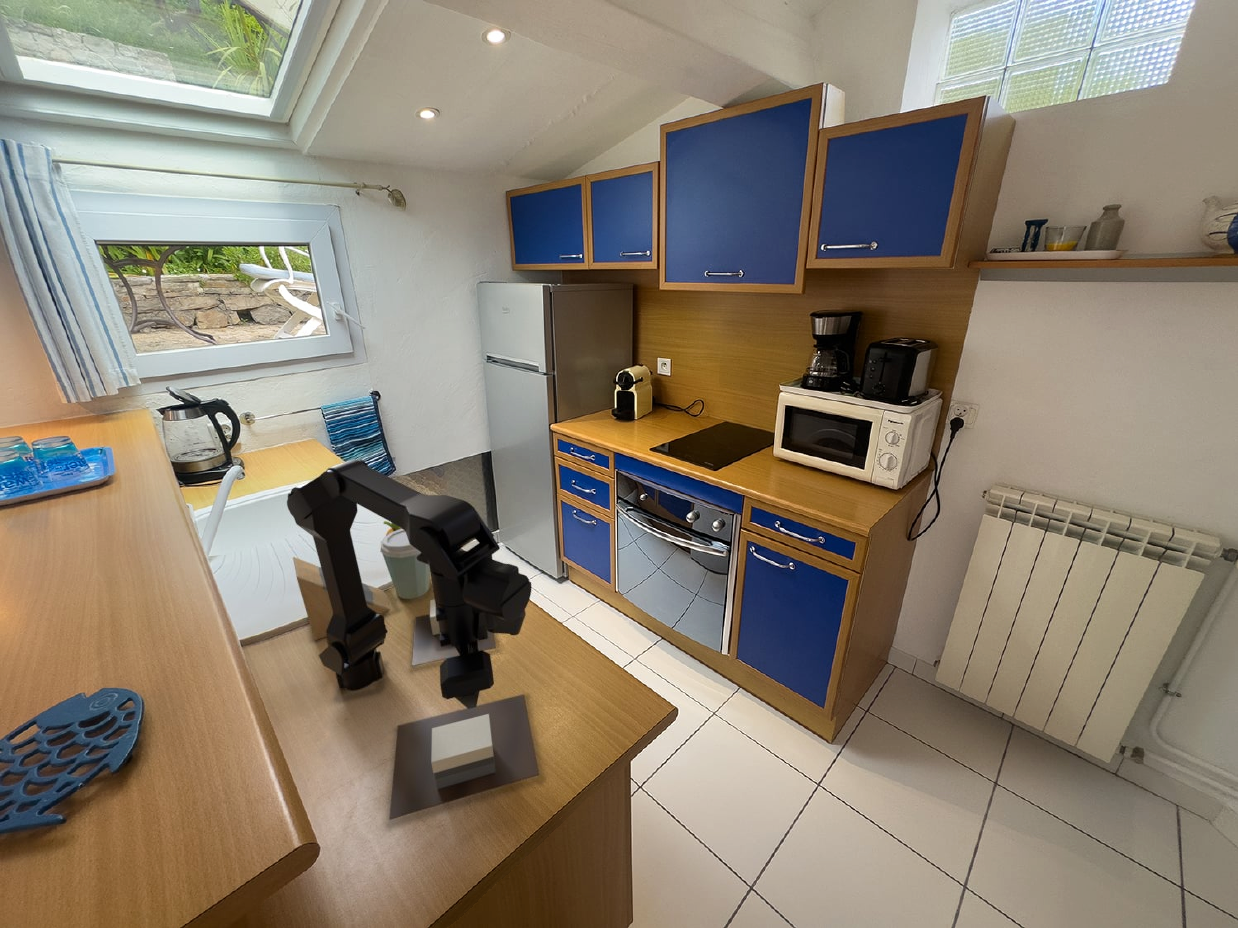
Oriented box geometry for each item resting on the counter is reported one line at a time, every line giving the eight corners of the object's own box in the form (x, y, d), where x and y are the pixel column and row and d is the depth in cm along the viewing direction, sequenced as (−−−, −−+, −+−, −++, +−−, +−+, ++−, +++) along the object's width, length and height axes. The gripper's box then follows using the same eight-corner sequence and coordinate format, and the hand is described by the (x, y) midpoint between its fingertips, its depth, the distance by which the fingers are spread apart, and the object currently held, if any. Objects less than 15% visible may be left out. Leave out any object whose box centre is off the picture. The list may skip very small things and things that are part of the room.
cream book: (433, 773, 67) (431, 762, 66) (433, 738, 72) (431, 727, 71) (493, 756, 69) (492, 745, 69) (490, 724, 74) (488, 713, 73)
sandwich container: (397, 611, 105) (385, 551, 99) (314, 641, 96) (296, 577, 91) (387, 591, 111) (375, 533, 105) (309, 617, 103) (292, 556, 97)
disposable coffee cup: (383, 589, 112) (372, 532, 106) (431, 572, 118) (423, 517, 112) (397, 614, 104) (385, 554, 98) (447, 595, 110) (439, 537, 104)
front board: (390, 824, 66) (389, 819, 65) (398, 729, 79) (397, 725, 78) (539, 779, 72) (539, 774, 71) (524, 698, 85) (524, 693, 84)
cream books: (432, 635, 97) (429, 617, 95) (433, 617, 102) (430, 599, 100) (474, 626, 99) (472, 609, 98) (473, 609, 104) (471, 592, 103)
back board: (412, 670, 90) (411, 665, 90) (415, 620, 102) (415, 616, 102) (496, 651, 95) (495, 647, 94) (489, 606, 107) (489, 602, 106)
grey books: (437, 789, 69) (433, 770, 67) (437, 760, 73) (433, 741, 71) (495, 772, 71) (493, 753, 70) (492, 745, 75) (490, 726, 74)
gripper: (530, 625, 59) (537, 718, 65) (508, 546, 76) (516, 627, 82) (433, 647, 56) (449, 743, 62) (432, 559, 72) (445, 642, 78)
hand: (469, 681), depth 71 cm, fingers open, 9 cm apart
